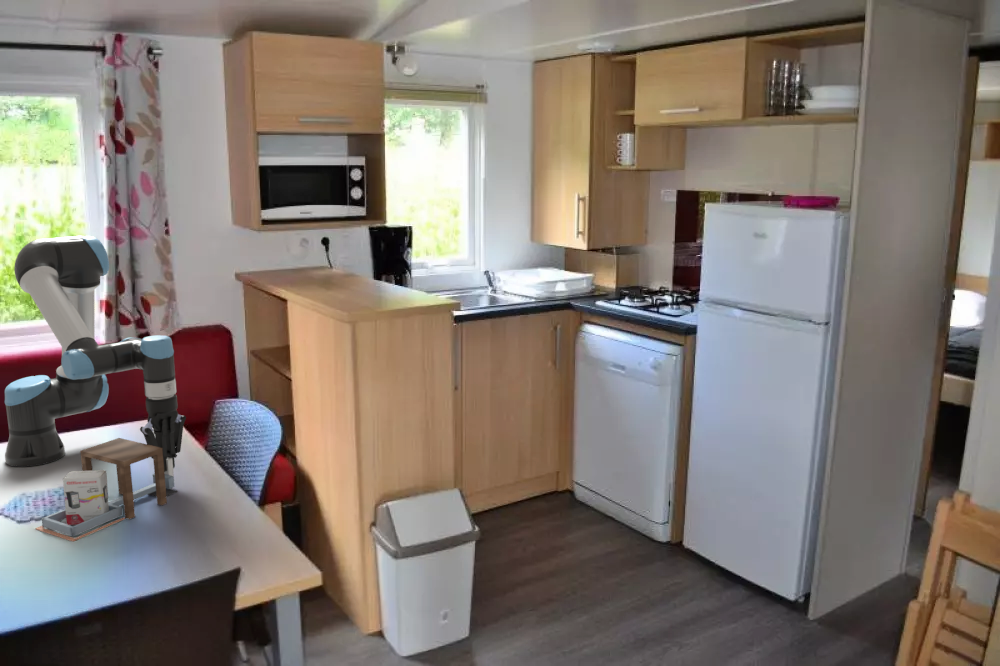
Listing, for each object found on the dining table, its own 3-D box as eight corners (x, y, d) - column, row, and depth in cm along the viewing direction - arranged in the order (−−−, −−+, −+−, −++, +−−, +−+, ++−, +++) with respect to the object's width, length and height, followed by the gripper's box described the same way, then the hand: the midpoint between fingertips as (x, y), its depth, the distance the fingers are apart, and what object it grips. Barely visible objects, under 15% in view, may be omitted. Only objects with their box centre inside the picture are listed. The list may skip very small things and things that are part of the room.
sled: (42, 526, 192) (40, 513, 191) (152, 482, 219) (150, 470, 218) (73, 536, 187) (71, 522, 186) (181, 489, 214) (180, 478, 213)
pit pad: (138, 491, 214) (138, 490, 214) (153, 485, 218) (153, 484, 218) (162, 498, 210) (162, 497, 210) (177, 491, 214) (177, 490, 214)
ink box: (65, 526, 194) (60, 479, 191) (72, 517, 198) (67, 471, 196) (105, 523, 195) (100, 476, 193) (111, 514, 200) (106, 469, 198)
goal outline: (35, 529, 192) (35, 528, 192) (88, 507, 204) (88, 507, 204) (72, 541, 186) (72, 540, 186) (125, 518, 198) (125, 518, 198)
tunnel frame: (86, 506, 205) (80, 450, 202) (124, 491, 214) (119, 437, 211) (129, 519, 197) (124, 461, 194) (166, 503, 207) (162, 447, 204)
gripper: (150, 404, 204) (157, 492, 209) (191, 391, 216) (197, 475, 221) (129, 399, 208) (137, 487, 213) (171, 387, 219) (178, 470, 224)
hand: (168, 481), depth 217 cm, fingers closed
